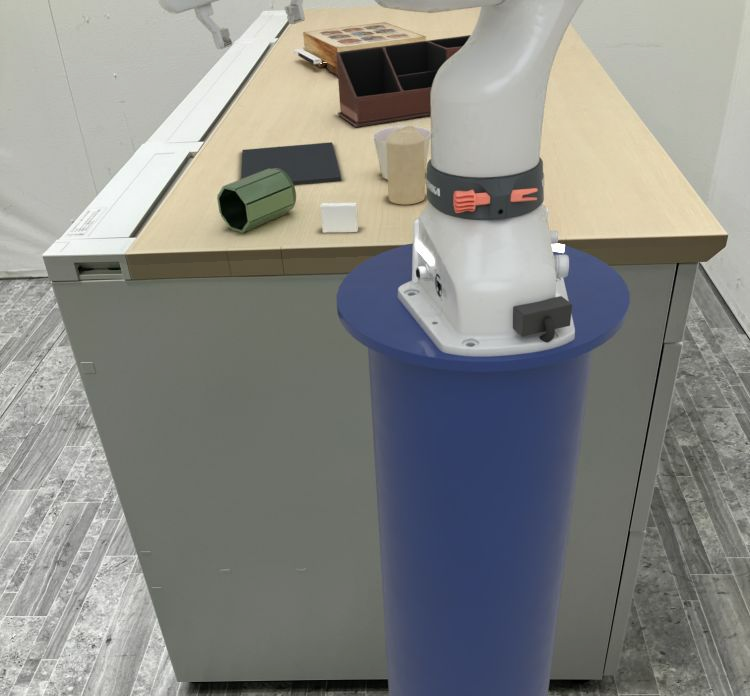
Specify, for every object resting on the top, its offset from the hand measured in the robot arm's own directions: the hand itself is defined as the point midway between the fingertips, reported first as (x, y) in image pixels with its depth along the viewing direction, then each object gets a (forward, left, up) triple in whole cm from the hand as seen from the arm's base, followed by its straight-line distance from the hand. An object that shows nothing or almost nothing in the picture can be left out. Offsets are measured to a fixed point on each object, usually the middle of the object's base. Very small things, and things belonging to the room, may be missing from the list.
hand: (261, 34), depth 95 cm
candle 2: (+26, -20, -26) cm, 41 cm away
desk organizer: (+65, -28, -26) cm, 75 cm away
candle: (+15, -19, -26) cm, 35 cm away
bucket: (+11, +3, -25) cm, 28 cm away
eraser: (+4, -8, -26) cm, 27 cm away
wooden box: (+114, -21, -26) cm, 119 cm away
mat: (+36, -2, -25) cm, 44 cm away
